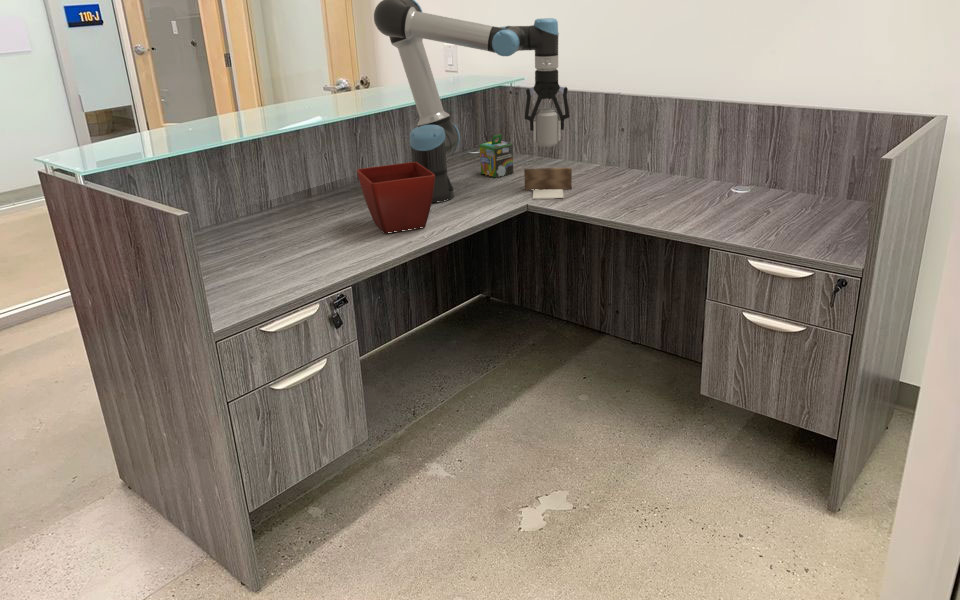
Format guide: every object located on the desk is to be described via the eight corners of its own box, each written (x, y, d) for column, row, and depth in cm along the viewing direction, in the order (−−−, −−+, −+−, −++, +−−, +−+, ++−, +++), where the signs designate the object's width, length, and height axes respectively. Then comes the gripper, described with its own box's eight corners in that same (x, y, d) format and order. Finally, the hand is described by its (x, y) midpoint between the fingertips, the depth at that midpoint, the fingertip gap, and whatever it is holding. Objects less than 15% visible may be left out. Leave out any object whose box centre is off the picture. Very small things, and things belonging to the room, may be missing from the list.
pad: (532, 199, 251) (532, 198, 250) (533, 191, 260) (533, 189, 260) (563, 199, 250) (563, 197, 250) (562, 190, 259) (562, 189, 259)
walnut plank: (524, 190, 262) (524, 170, 259) (524, 188, 264) (524, 168, 261) (571, 189, 261) (571, 168, 258) (571, 187, 262) (571, 167, 260)
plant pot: (440, 229, 226) (436, 174, 220) (377, 240, 220) (371, 183, 214) (420, 213, 243) (416, 161, 236) (362, 222, 237) (355, 169, 230)
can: (557, 142, 259) (557, 106, 254) (558, 147, 252) (558, 110, 247) (535, 142, 260) (535, 107, 255) (535, 147, 253) (535, 110, 248)
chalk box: (498, 169, 291) (496, 131, 285) (514, 173, 284) (513, 133, 278) (479, 174, 285) (477, 135, 279) (495, 178, 279) (494, 138, 273)
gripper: (515, 71, 243) (516, 143, 252) (579, 69, 242) (578, 141, 251) (515, 69, 250) (516, 138, 259) (577, 66, 249) (576, 136, 258)
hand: (547, 139), depth 255 cm, fingers closed on can, 7 cm apart
